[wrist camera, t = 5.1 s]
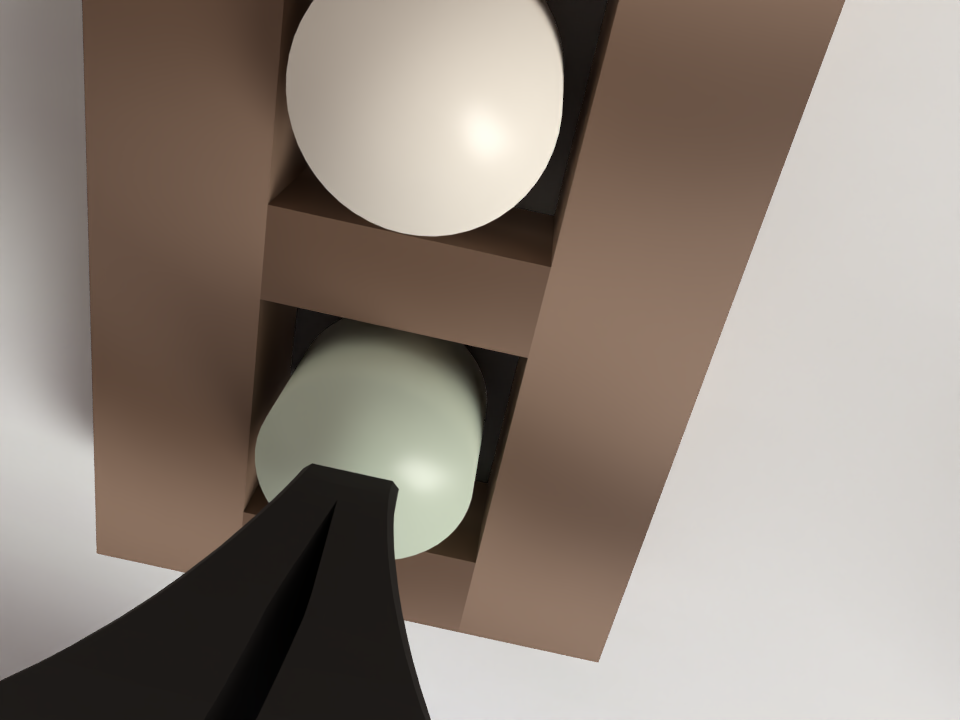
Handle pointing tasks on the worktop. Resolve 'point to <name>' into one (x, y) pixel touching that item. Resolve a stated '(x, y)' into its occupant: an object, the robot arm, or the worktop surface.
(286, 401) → the sage button
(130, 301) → the button panel
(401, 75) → the cream button
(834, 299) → the worktop surface
